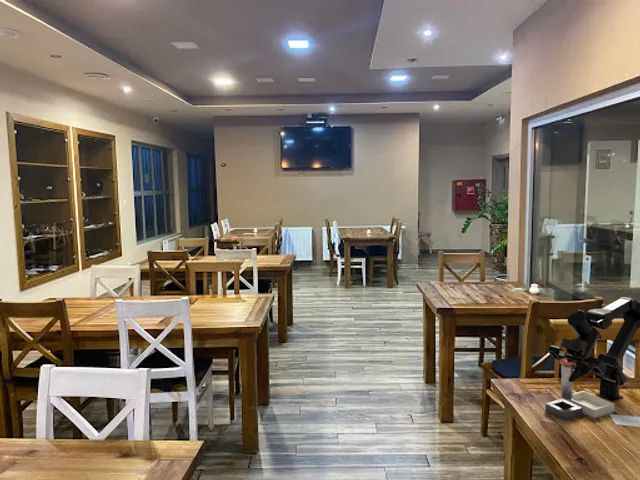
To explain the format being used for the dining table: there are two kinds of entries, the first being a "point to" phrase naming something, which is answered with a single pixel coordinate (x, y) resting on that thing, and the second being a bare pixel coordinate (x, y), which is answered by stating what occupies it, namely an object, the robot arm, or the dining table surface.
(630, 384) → the dining table surface
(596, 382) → the dining table surface
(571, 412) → the dark grey square socket
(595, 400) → the tray
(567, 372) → the pin
